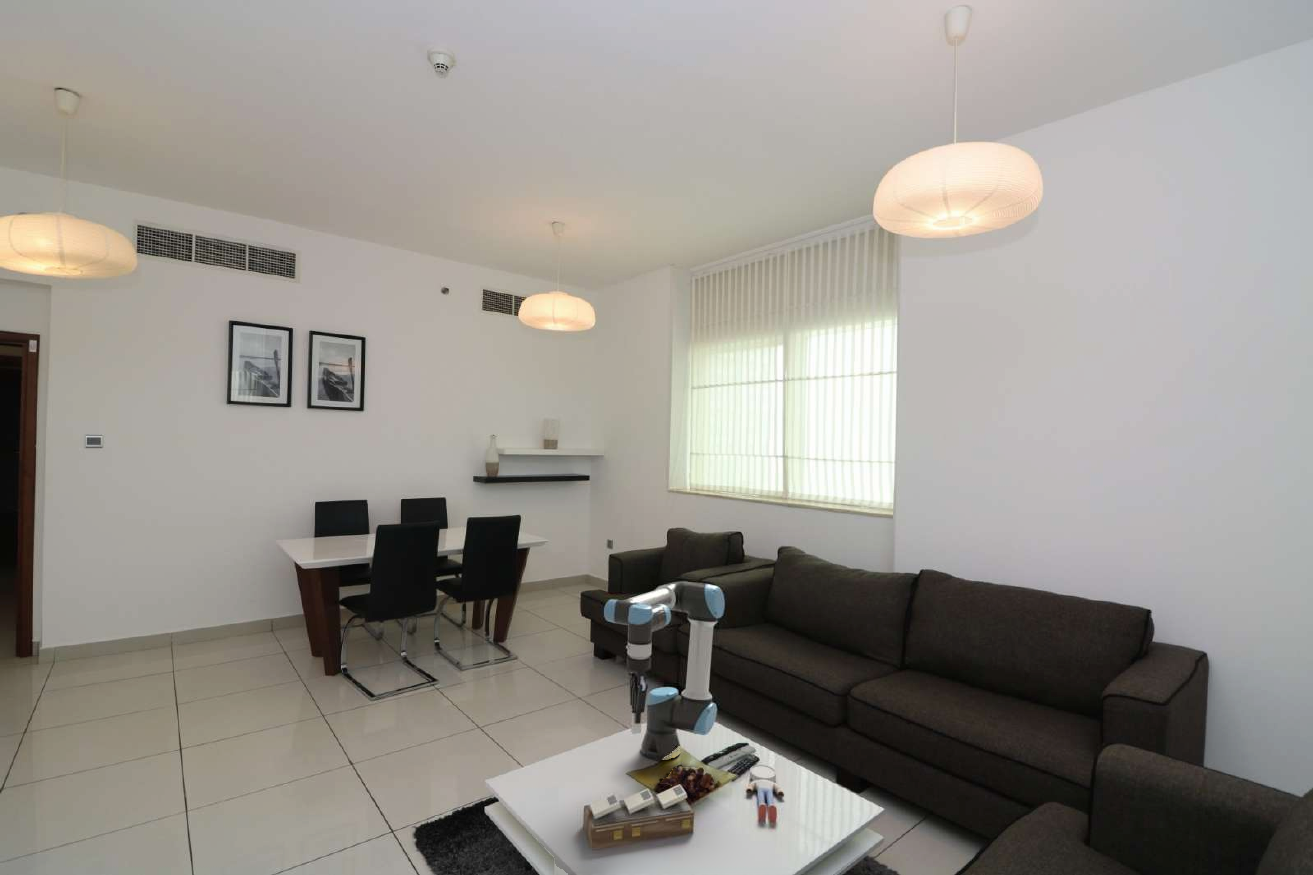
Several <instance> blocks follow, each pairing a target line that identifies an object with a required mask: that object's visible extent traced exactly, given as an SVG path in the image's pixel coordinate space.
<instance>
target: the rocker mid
mask: <svg viewBox="0 0 1313 875" xmlns="http://www.w3.org/2000/svg"><path fill="white" fill-rule="evenodd" d="M653 796H654V795H653V794H652V793H651V791H650V789H649V788H646V789H644V790H641V791H638V792H637V793H635V794H633V795H630V796H628V797H627V798H624V799H623V800H624V803H625V805H626V807H627V809H628V811H629V813H630V814H631V813H633V812H635V811H637V810H640V809H642V808H644V807H646V806H648V805H650V804H652V803H654V802H655V801H654V798H653Z"/></svg>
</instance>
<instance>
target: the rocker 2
mask: <svg viewBox="0 0 1313 875" xmlns="http://www.w3.org/2000/svg"><path fill="white" fill-rule="evenodd" d="M656 795H657V799H658V801H659V802H660V804H661V806H662V807H663V809H665V808H667V807H669V806H671V805H673V804H675V803H677V802H679V801H681V800H683V799H685V800H686V799H687V798H688V794H687V792H686V791H685V789H684V788H683V786H682V785H681V784H679V783H678V784H677V785H674V786H673V787H670V788H669V789H666V790H664V791H662V792H660V793H657V794H656Z"/></svg>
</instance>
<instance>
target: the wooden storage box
mask: <svg viewBox="0 0 1313 875" xmlns="http://www.w3.org/2000/svg"><path fill="white" fill-rule="evenodd" d="M652 796H653V798H654V801H655V802H654V803H652V804H650V805H648V806H646V807H644V808H642V809H640V810H637V811H635V812H633V813H631V814H630V813H629V811H628V809H627V807H626V805H625V803H624V799H619V800H618V801H619V803H620V806H621V807H620V808H618V809H616V810H614V811H612V812H610V813H608V814H605V815H603V816H601V817H599V818H597V819H595V818H594V816H593V813H592V811H591V808H590V804H586V805H584V806H583V817H582V818H583V819H582V820H583V821H582V822H583V823H582V824H583V825H582V826H583V830H584V832H585V835H586V837H587V838H586V839H587V842H588V844H589V846H590V848H591V851H593V850H594V851H595V850H600V849H606V848H612V847H618V846H624V845H631V844H635V843H637V844H638V843H642V842H648V841H655V840H661V839H667V838H672V837H678V836H685V835H690V833H691V834H694V827H695V825H694V824H695V812H694V811H693V809H692V808H691V806H690V804H689V802H687V800H686V798H685V799H683V800H681V801H679V802H677V803H675V804H673V805H671V806H669V807H667V808H665V809H663V807H662V806H661V804H660V802H659V801H658V799H657V794H656V795H652Z"/></svg>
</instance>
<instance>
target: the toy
mask: <svg viewBox="0 0 1313 875" xmlns="http://www.w3.org/2000/svg"><path fill="white" fill-rule="evenodd" d="M749 769H750V770H749V777H750V779H752V781H751V782H749V784H748V786H747V787H746V790H745V793H746V794H747V795H748V796H750V795H752V794H753V792H754V790H755V791H757V802H758V810H757V812H758V813H757V817H758V819H759V821H766V819H767V812H768V820H769V821H770V822H776V821H777V818H778V816H777V815H778V812H777V811H778V810H777V809H778V808H777V806H776V805H775V802H774V794H773V793H776V795H777V796H778V798H780V799H783V798H784V797H785V793H784V791H783V790H782V788H781V787H780V785H779V784H777V783H776V782H775V781H776V779H777V771H776V770H775V769H774V768H773V767H771V766H769V765H766V764H755V765H753V766H752V767H750V768H749ZM765 801H767V804H766V803H765Z"/></svg>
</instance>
